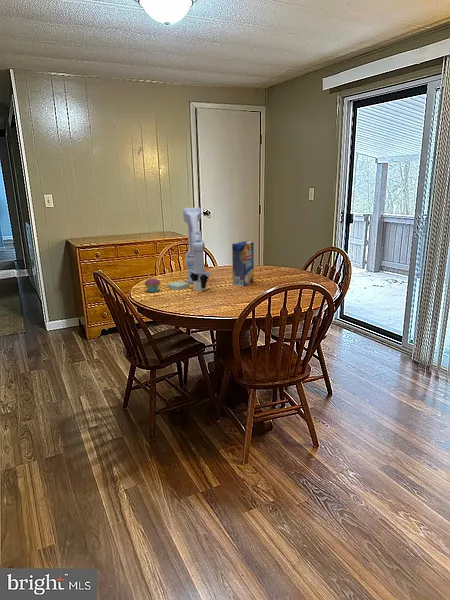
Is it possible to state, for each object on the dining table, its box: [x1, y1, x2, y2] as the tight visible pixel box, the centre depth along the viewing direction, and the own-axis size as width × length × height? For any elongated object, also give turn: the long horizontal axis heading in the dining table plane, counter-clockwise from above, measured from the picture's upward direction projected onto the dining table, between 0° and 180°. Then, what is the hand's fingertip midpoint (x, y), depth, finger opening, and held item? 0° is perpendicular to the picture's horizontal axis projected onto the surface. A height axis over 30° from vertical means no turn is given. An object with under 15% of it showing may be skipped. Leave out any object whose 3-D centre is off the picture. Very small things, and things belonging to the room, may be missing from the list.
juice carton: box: [231, 240, 255, 287], centre depth 236 cm, size 12×8×24 cm, turn 149°
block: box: [193, 280, 207, 292], centre depth 227 cm, size 5×5×5 cm
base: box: [166, 281, 190, 291], centre depth 234 cm, size 9×9×2 cm
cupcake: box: [144, 270, 161, 293], centre depth 226 cm, size 9×8×12 cm
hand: (199, 287), depth 228 cm, fingers closed on block, 5 cm apart
